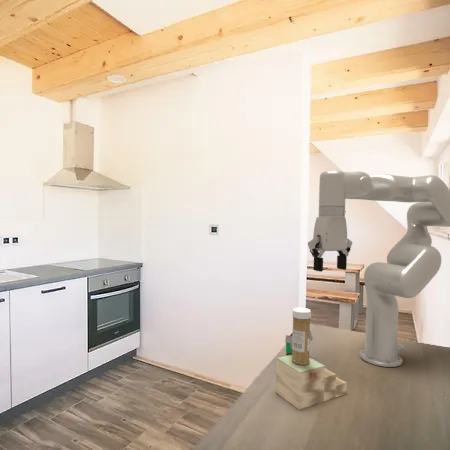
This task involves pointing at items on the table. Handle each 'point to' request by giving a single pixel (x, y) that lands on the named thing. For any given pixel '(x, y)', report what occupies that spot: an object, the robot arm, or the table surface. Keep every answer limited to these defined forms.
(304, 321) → the spice jar
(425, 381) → the table surface
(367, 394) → the table surface
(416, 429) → the table surface
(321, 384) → the step stand
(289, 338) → the food container
